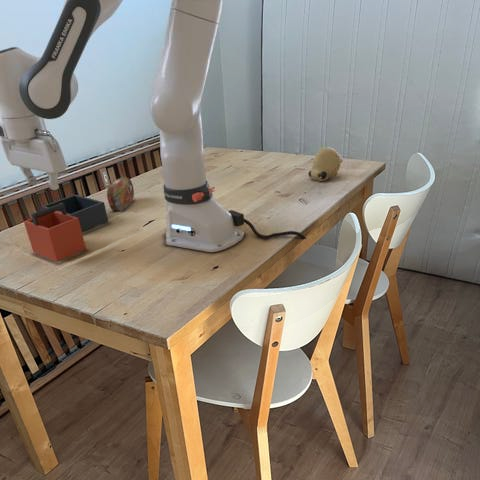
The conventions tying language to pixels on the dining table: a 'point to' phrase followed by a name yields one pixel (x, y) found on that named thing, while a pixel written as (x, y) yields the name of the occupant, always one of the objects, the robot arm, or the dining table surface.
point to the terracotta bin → (55, 233)
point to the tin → (120, 193)
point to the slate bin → (83, 210)
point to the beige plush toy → (325, 164)
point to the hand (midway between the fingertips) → (43, 186)
